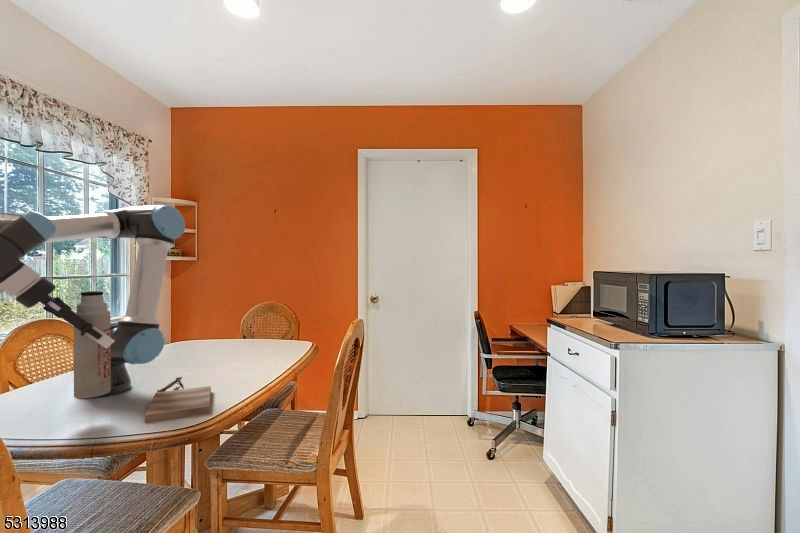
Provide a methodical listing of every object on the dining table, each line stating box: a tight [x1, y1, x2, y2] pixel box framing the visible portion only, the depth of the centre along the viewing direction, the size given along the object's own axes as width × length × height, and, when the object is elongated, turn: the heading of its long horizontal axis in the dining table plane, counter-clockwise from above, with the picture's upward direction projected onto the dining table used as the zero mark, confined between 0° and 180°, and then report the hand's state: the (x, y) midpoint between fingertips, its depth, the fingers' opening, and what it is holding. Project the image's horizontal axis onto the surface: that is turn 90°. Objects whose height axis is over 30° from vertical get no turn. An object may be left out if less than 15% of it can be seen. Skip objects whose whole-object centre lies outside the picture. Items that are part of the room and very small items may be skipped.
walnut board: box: [144, 385, 212, 423], centre depth 120 cm, size 20×16×2 cm
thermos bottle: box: [73, 290, 112, 399], centre depth 107 cm, size 8×8×28 cm
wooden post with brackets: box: [156, 376, 185, 392], centre depth 132 cm, size 2×8×4 cm, turn 143°
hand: (107, 342), depth 109 cm, fingers closed on thermos bottle, 8 cm apart
